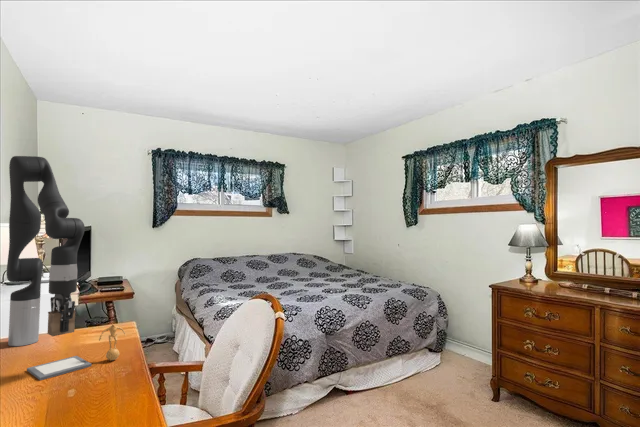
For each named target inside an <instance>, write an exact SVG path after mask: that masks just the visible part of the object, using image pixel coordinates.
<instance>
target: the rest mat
mask: <svg viewBox="0 0 640 427" xmlns="http://www.w3.org/2000/svg"><path fill="white" fill-rule="evenodd" d="M89 367H93V366H92V363H91V362H89V361H87V360H86V359H84V358H83V357H80V356H78V355H73V356H71V357H66V358H61V359H57V360H54V361H50V362H46V363H42V364H38V365H33V366H30V367H27V368H26V371H27V372H28V373H29V374H31V375H32V376H34V378H36V379H37V380H39V381H43V380H47V379H51V378H55V377H58V376H61V375H64V374H67V373H71V372H75V371H78V370H83V369H86V368H89Z"/></svg>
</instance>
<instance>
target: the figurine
mask: <svg viewBox="0 0 640 427" xmlns="http://www.w3.org/2000/svg"><path fill="white" fill-rule="evenodd" d="M117 330H121V331H122V333H123V334H124V336H125V338H127V334H126V332H125V330H124V328H122V327H119V326H117V325H115V324H112V325H110V326H109V327H107V328H105V329H104V330H103V331H102V332H101V335H99V338H98V341H101V340H102V337H103V334H104V333H105V332H108V331H109V333H110V334H109V335H108V343H109V349H108V351H107V352H106V354H105V357H106V359H107V360H108V361H116V360H117V359H118V358H119V357H120V351H119V349H118V348H117V347H116V346H117V345H116V344H117V342H118V334H116V332H117ZM112 340H114V346H113V348H112Z"/></svg>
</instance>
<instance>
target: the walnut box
mask: <svg viewBox="0 0 640 427" xmlns="http://www.w3.org/2000/svg"><path fill="white" fill-rule="evenodd" d="M62 311H64V310H62ZM76 311H77V310H76V309H74V312H73V318H72V319H70V320H69V330H68V331H67V332H63V333H61V332H60V314H59V313H58V311H51V310H50V311H47V314H48V315H47V316H48V318H47V335H49V336H51V337H57V336H60V335H66V334H71V333H75V325H76V324H75V323H76ZM66 316H67V314H66Z"/></svg>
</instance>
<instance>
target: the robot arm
mask: <svg viewBox="0 0 640 427" xmlns="http://www.w3.org/2000/svg"><path fill="white" fill-rule="evenodd" d="M8 167H9V168H8V169H9V170H8V171H9V173H8V174H9V186H10V188H9V189H10V203H9V204H10V207H9V208H10V209H9V218H8V219H9V220H8V232H9V238H8V240H9V242H8V245H9V246H8V254H7V255H8V256H7V265H6V278H7V281H8V282H9V283H10V282H11V283H22V282H24V283H25V282H26V283H27V282H30V283H29V285H26V286H25V287H24V288H20V289H18V290H15V291H12V292H11V293H10V300H9V317H8V318H9V321H8V337H7V338H8V340H7V341H8V342H7V343H8V344H7V345H8V346H10V347H22V346H27V345H32V344H35V343H37V342H38V341H39V337H40V334H39V333H40V332H39V331H40V313H41V292H42V290H41V289H42V288H41V287H42V286H41V285H42V277H43V276H42V275H43V266H44V265H43V260H42V258H40V257H28V258H27V257H25V258H24V257H23V258H20V255H21V254H22V253H23V251H24V249H25V248H26V247H27V246H28V245H29V244H30V243H31V242H33V240H34V239H35V238H36V237H37V236H38V234H39V233H40V231H41V227H42V226H41V225H42V214H43V215H44V223H45V227H44V229H45V230H44V231H45V233H46V235H47V236H48V237H49V238H51V239H54V240H65V239H66V242H65V244H62V245H59V246H55V247H53V248H52V249H51V252H50V267H49V277H48V294H50V295H54V296H51V297H50V312H51V311H58V313H59V314H60V332H61V333H63V332H67V331H68V330H69V320H70V319H72V318H73V312H74V310H75V306H76V301H75V300H72V297H71V294H73V293H75V292H77V290H78V251H79V248H80V245H81V242H82V239H83V236H84V235H85V228H86V226H85V224H84V222H83V220H82V219H81V218H77V217H68V216H69V215H70V210H69V208H68V205H67V204H66V202H65V201H64V199H63V197H62V195H61V193H60V190H59V188H58V185H57V181H56V178H55V176H54V172H53V169H52V167H51V164H50V162H49V161H48V159H47V158H46V157H43V156H34V155H33V156H32V155H31V156H29V155H14V156H12V157H11V158H10V161H9V166H8ZM26 182H27V183H29V182H35V183H36V182H38V183H39V182H42V183H43V186H42V188H41V190H40V191H39V192H38V195H37V204H38V206H37V205H36V204H35V203H34V202H33V201H32V200H31V199H30V197H29V195H28V194H27V192H26V191H25V190H26V189H25V185H24V184H25V183H26ZM38 207H39V208H38ZM40 210H41V212H42V214H41V212H40ZM62 310H64V311H62ZM66 314H67V316H66Z"/></svg>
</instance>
